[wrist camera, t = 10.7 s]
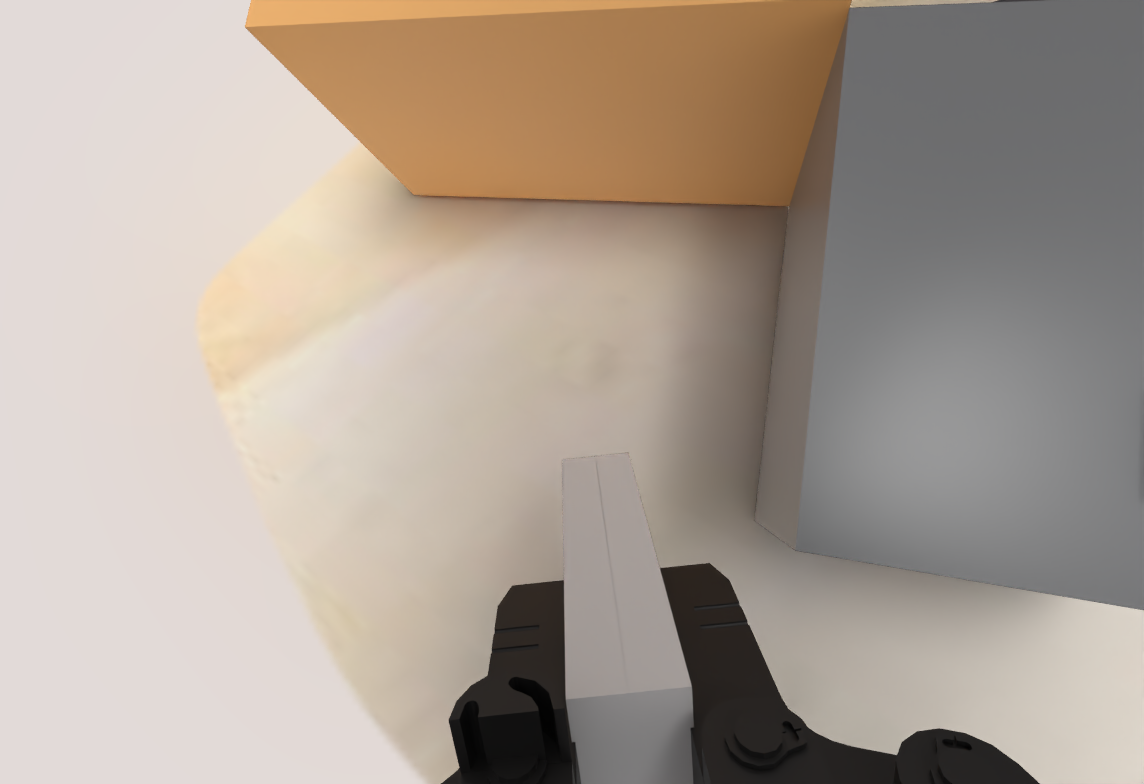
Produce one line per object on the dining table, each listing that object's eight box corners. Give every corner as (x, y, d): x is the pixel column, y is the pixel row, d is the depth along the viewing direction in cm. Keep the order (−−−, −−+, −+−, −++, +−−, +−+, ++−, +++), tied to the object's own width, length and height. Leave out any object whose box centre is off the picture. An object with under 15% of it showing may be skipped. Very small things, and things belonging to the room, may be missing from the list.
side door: (793, 162, 23) (859, -76, 13) (789, 206, 22) (852, -3, 13) (420, 157, 26) (257, -30, 17) (414, 194, 26) (245, 27, 17)
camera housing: (794, 149, 23) (868, -126, 13) (1093, 154, 21) (1486, -180, 10) (754, 520, 21) (801, 555, 11) (1075, 572, 19) (1529, 680, 8)
